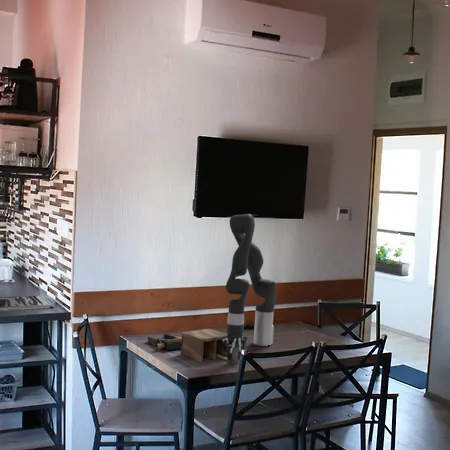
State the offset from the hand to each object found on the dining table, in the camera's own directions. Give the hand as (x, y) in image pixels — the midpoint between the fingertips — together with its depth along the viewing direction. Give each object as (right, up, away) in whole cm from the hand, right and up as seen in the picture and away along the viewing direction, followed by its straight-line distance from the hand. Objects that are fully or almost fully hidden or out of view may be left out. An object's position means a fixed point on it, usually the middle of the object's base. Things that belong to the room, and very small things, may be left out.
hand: (233, 359), depth 283 cm
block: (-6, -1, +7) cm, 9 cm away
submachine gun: (-30, +1, +28) cm, 41 cm away
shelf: (-13, 0, +10) cm, 17 cm away
